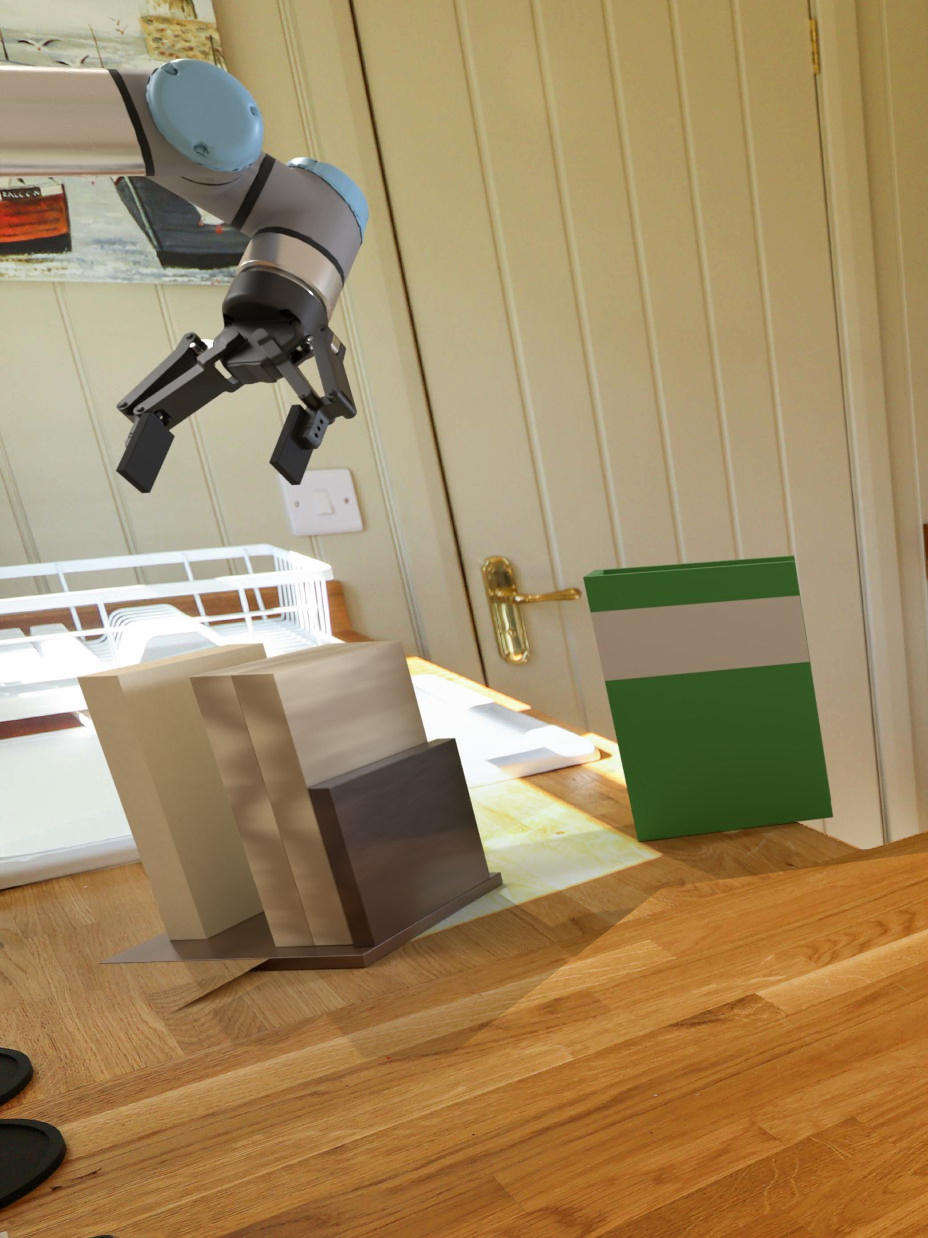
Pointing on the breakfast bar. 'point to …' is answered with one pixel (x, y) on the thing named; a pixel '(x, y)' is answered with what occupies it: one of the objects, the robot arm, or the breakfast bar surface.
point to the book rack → (334, 810)
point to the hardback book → (711, 694)
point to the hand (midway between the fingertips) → (208, 478)
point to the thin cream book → (175, 788)
